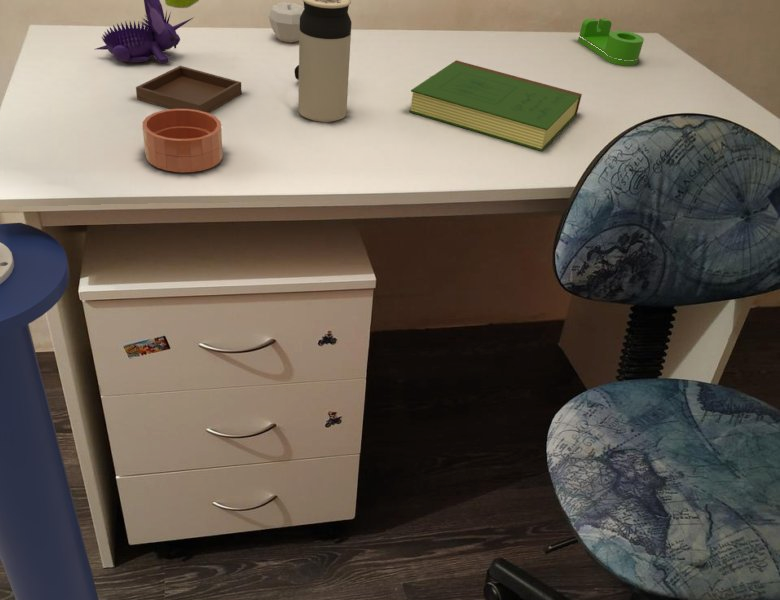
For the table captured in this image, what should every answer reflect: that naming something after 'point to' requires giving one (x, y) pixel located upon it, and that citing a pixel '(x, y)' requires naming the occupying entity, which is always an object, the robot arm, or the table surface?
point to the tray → (189, 90)
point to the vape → (180, 3)
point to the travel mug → (324, 59)
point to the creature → (143, 37)
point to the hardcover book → (496, 104)
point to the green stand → (611, 42)
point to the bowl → (182, 140)
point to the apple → (286, 21)
